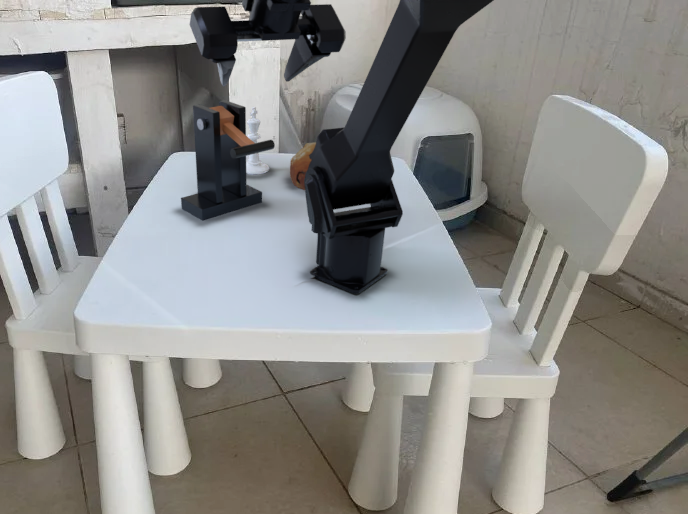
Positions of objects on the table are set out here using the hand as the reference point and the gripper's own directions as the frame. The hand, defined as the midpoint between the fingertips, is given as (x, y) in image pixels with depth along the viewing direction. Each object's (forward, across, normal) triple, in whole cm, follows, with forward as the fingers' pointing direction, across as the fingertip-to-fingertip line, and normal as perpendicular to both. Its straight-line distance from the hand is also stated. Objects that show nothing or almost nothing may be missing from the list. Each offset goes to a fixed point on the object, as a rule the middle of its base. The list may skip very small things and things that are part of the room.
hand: (255, 81), depth 81 cm
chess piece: (+17, -3, +3) cm, 18 cm away
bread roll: (+12, -10, +10) cm, 19 cm away
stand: (+10, +7, +12) cm, 17 cm away
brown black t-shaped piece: (+1, +6, +9) cm, 11 cm away
